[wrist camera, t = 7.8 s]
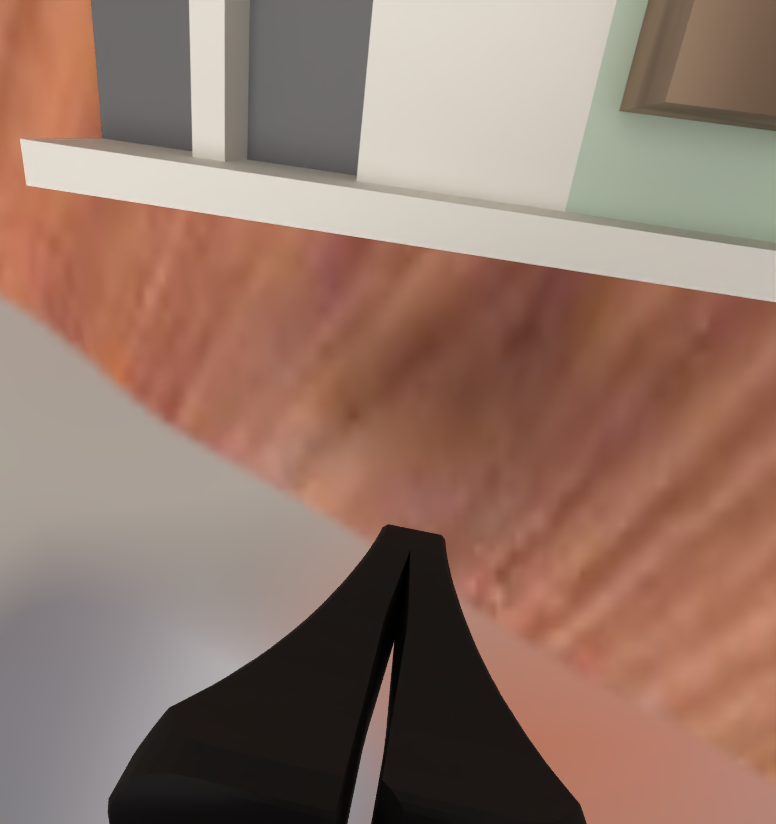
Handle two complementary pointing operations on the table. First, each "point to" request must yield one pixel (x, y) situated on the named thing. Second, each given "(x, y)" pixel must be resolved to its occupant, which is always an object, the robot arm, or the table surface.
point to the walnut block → (706, 62)
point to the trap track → (423, 134)
